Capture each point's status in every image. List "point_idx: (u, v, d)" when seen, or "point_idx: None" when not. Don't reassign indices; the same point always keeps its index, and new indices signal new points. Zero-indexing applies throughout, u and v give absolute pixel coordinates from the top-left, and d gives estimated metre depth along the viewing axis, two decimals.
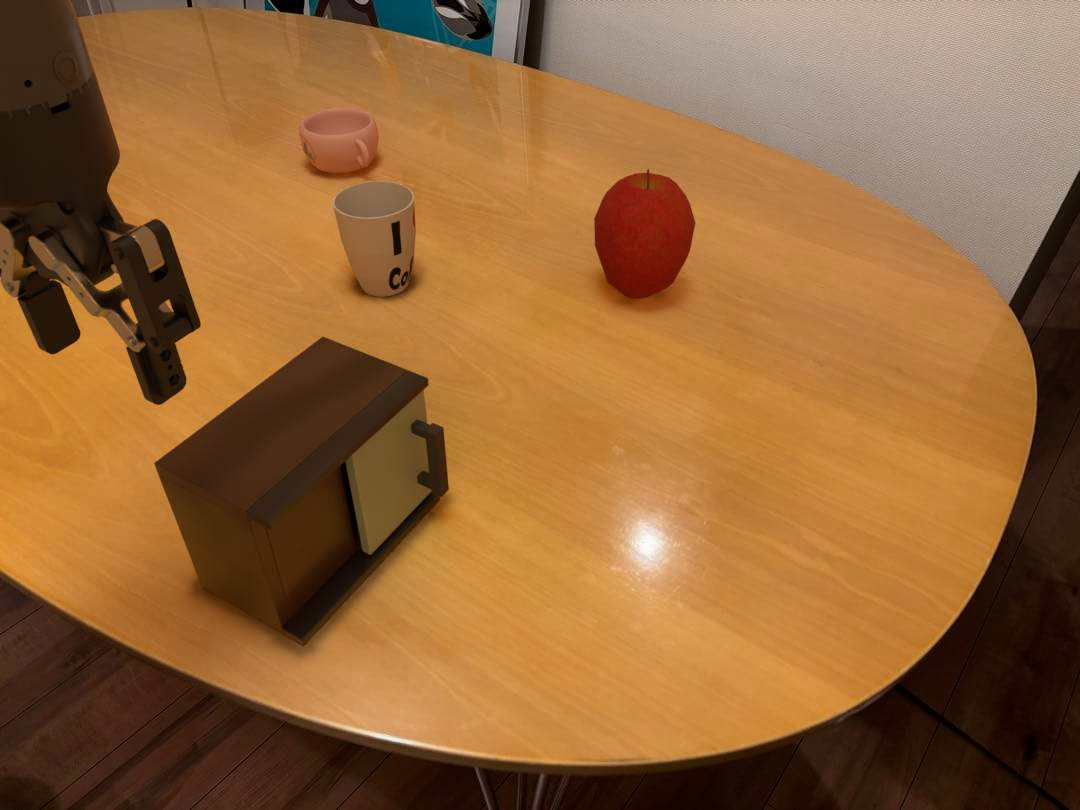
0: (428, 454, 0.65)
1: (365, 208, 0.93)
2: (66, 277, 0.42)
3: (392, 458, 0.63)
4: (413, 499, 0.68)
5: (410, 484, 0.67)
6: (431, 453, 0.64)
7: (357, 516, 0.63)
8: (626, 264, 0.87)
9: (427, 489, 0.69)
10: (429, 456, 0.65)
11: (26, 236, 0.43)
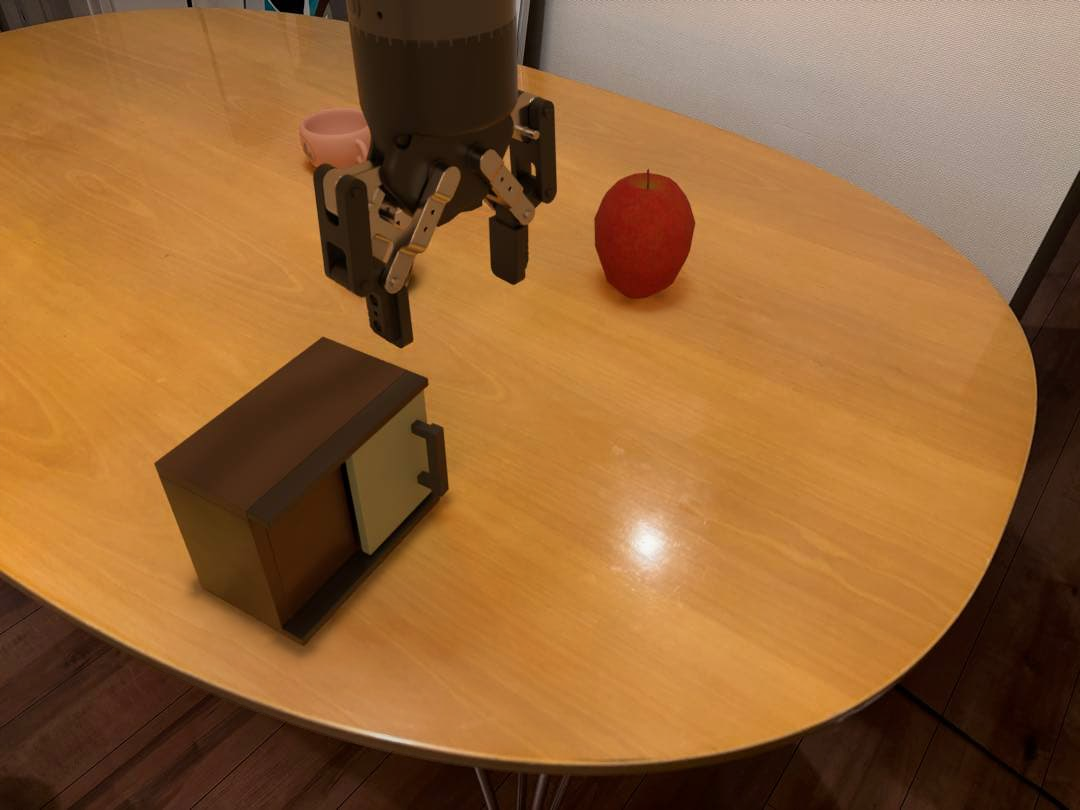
0: (428, 454, 0.65)
1: None
2: (499, 180, 0.45)
3: (392, 458, 0.63)
4: (413, 499, 0.68)
5: (410, 484, 0.67)
6: (431, 453, 0.64)
7: (357, 516, 0.63)
8: (626, 264, 0.87)
9: (427, 489, 0.69)
10: (429, 456, 0.65)
11: None
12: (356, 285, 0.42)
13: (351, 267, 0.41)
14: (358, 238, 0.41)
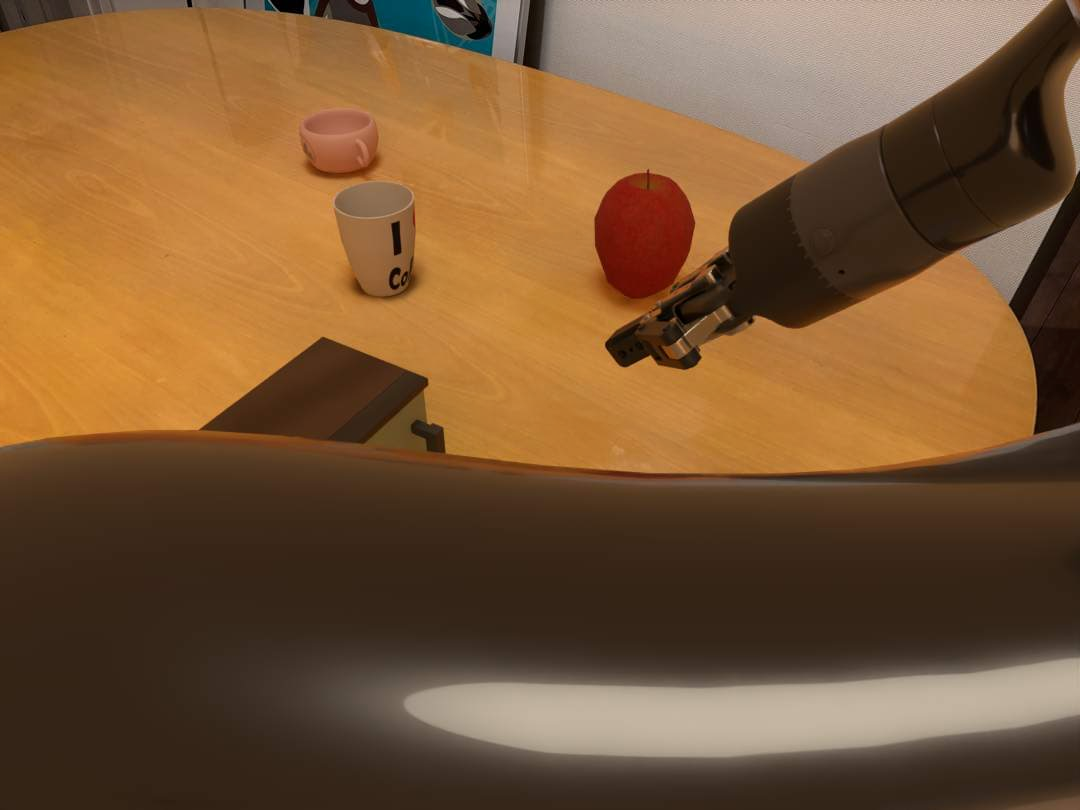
0: None
1: (365, 208, 0.93)
2: None
3: None
4: None
5: None
6: None
7: None
8: (626, 264, 0.87)
9: None
10: None
11: None
12: None
13: (663, 365, 0.52)
14: None
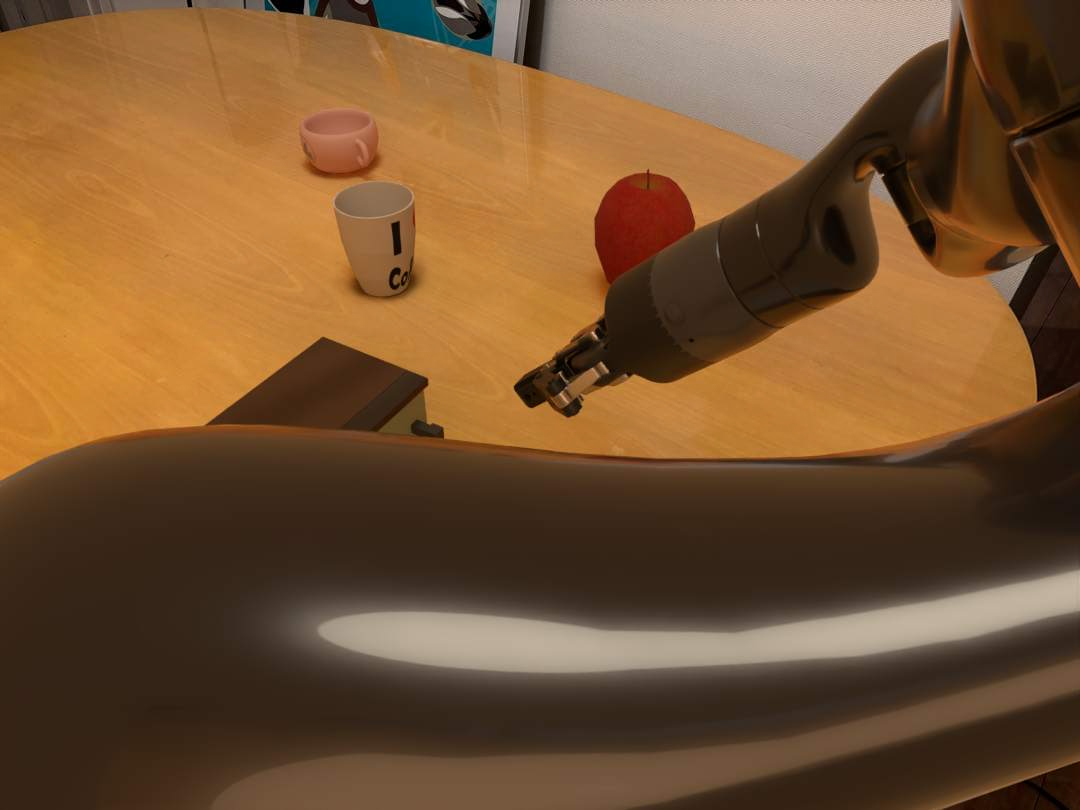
0: None
1: (365, 208, 0.93)
2: None
3: None
4: None
5: None
6: None
7: None
8: (626, 264, 0.87)
9: None
10: None
11: None
12: None
13: (556, 410, 0.59)
14: None
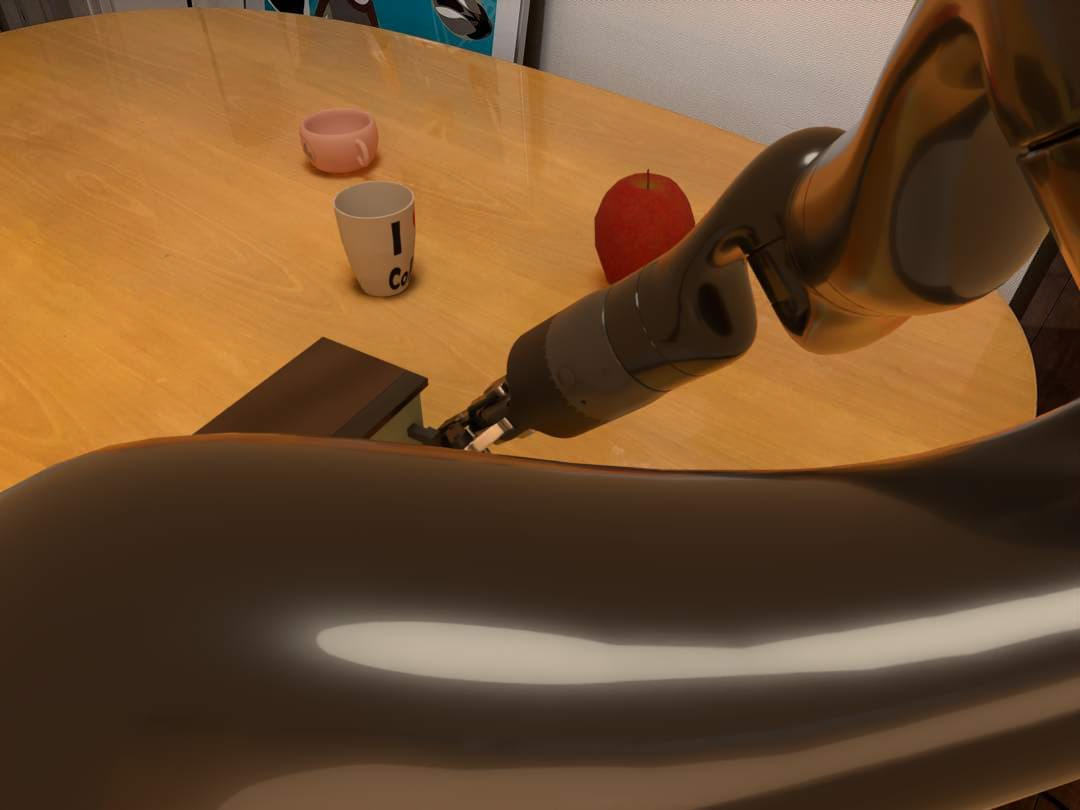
0: None
1: (365, 208, 0.93)
2: None
3: None
4: None
5: None
6: None
7: None
8: (626, 264, 0.87)
9: None
10: None
11: None
12: None
13: None
14: None
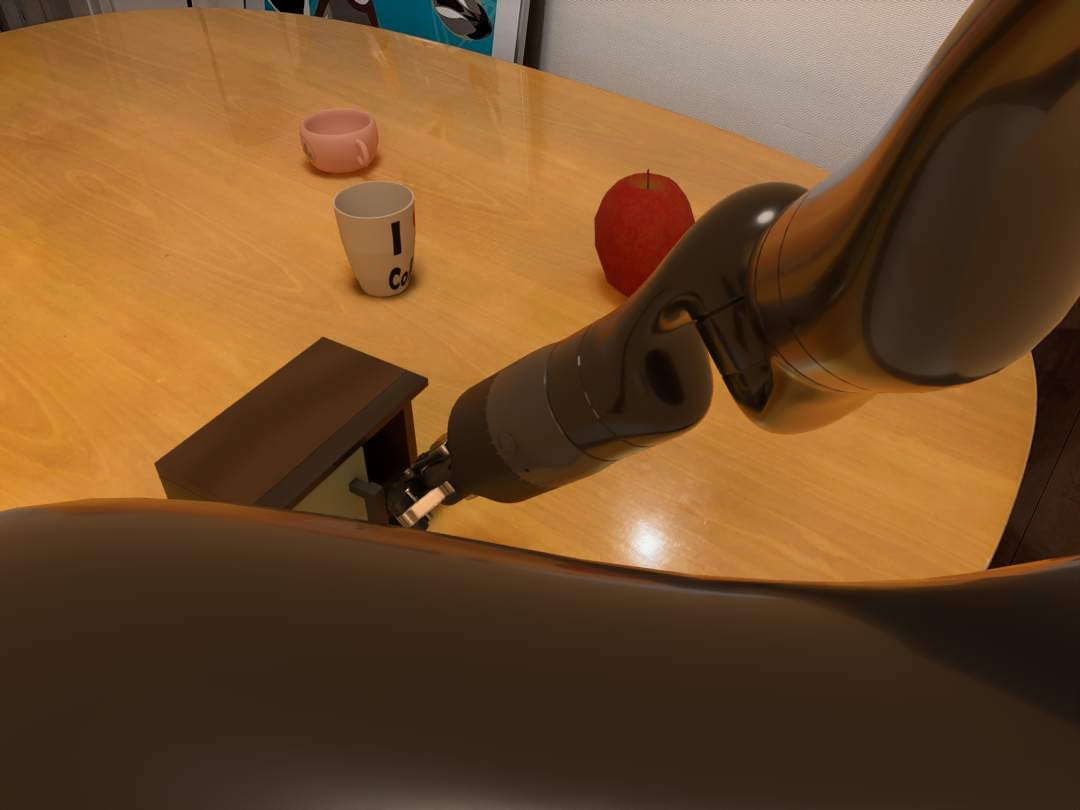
0: (368, 514, 0.60)
1: (365, 208, 0.93)
2: None
3: None
4: None
5: None
6: (371, 513, 0.60)
7: None
8: (626, 264, 0.87)
9: None
10: (369, 516, 0.60)
11: None
12: None
13: None
14: None
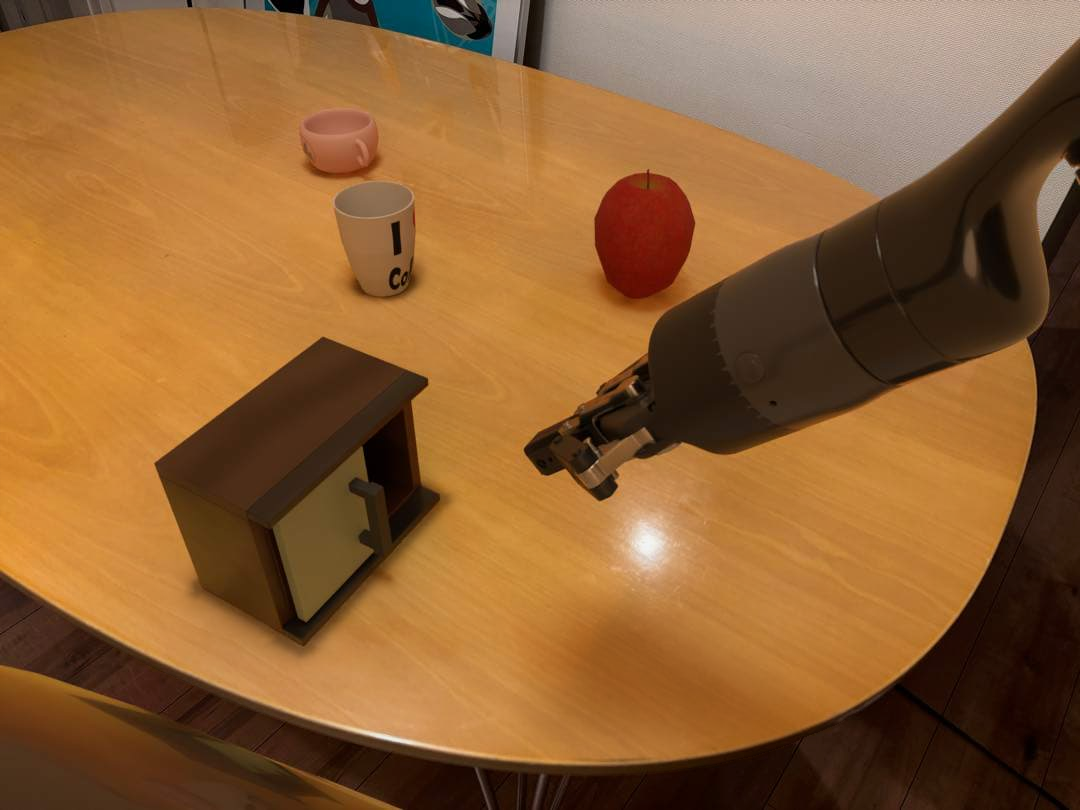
0: (368, 514, 0.60)
1: (365, 208, 0.93)
2: None
3: (327, 520, 0.59)
4: (354, 559, 0.63)
5: (350, 544, 0.62)
6: (371, 513, 0.60)
7: (289, 583, 0.58)
8: (626, 264, 0.87)
9: None
10: (369, 516, 0.60)
11: None
12: None
13: (581, 486, 0.45)
14: None
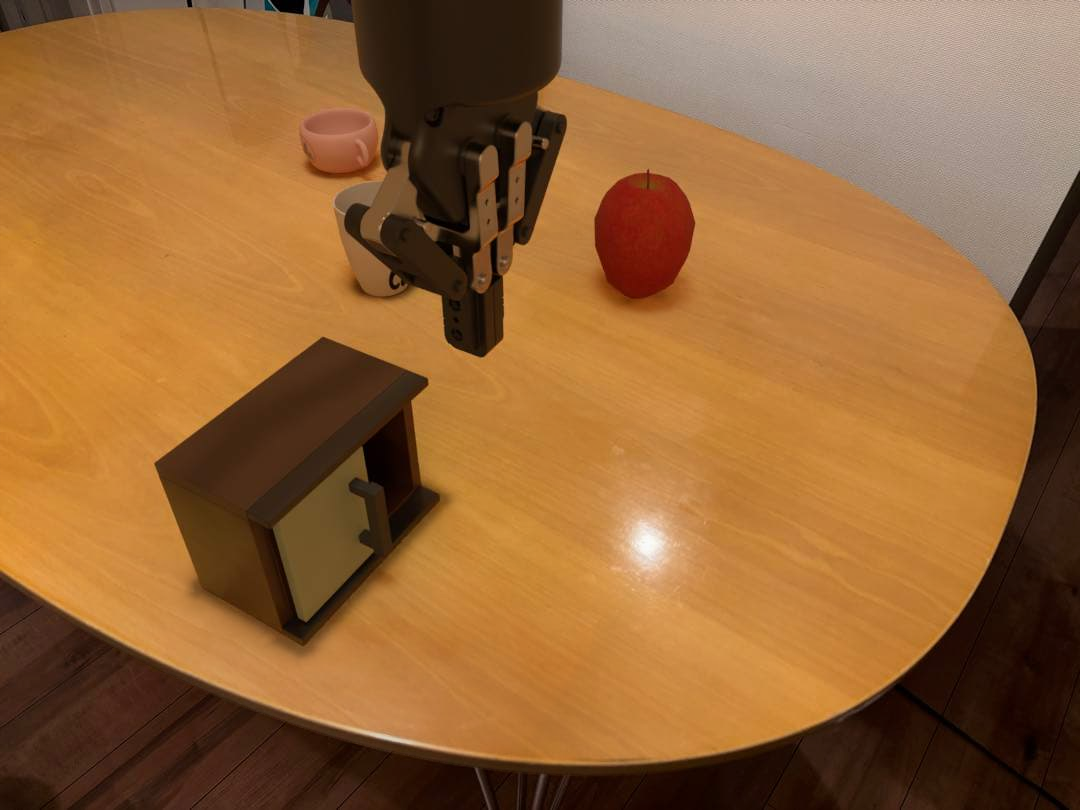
0: (368, 514, 0.60)
1: None
2: (516, 178, 0.36)
3: (327, 520, 0.59)
4: (354, 559, 0.63)
5: (350, 544, 0.62)
6: (371, 513, 0.60)
7: (289, 583, 0.58)
8: (626, 264, 0.87)
9: None
10: (369, 516, 0.60)
11: None
12: (452, 287, 0.36)
13: (439, 288, 0.35)
14: (431, 263, 0.34)
